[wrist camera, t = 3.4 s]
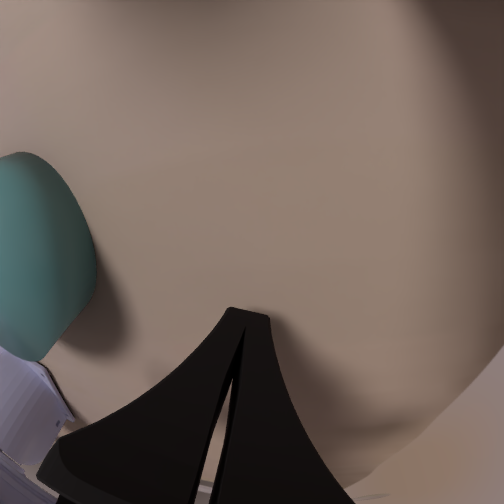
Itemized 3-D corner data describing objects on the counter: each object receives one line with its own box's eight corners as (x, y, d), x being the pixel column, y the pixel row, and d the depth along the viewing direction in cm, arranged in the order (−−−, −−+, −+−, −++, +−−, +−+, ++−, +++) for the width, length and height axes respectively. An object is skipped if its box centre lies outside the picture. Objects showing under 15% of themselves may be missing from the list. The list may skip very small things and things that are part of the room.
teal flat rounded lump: (114, 328, 13) (77, 385, 9) (10, 296, 14) (-25, 331, 10) (84, 142, 9) (6, 165, 5) (-22, 160, 10) (-73, 182, 6)
